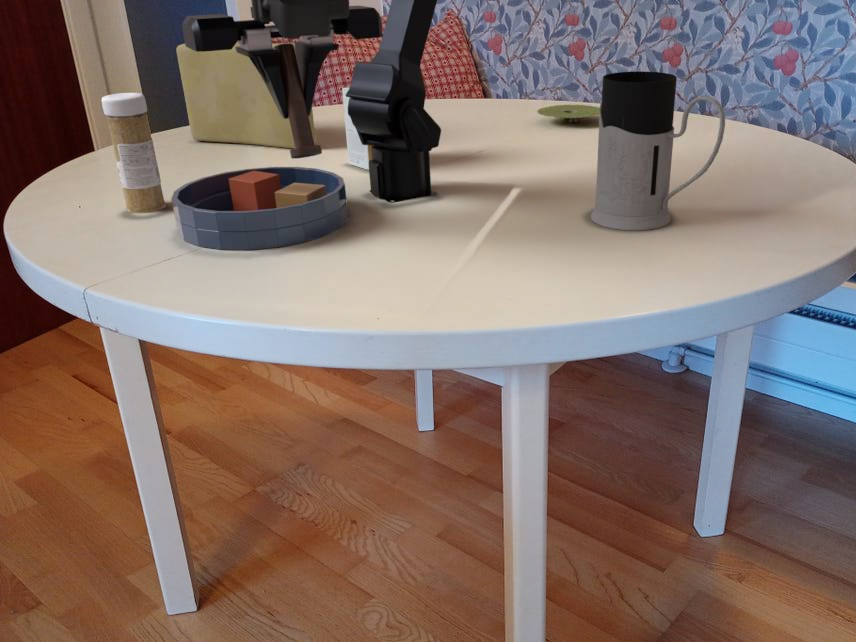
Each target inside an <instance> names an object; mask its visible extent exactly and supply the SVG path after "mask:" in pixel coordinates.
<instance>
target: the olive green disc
mask: <svg viewBox="0 0 856 642" xmlns="http://www.w3.org/2000/svg"><path fill="white" fill-rule="evenodd" d="M536 112H537V114H539V115H541V116H543V117H545V116H546V117H551V118H552V117H553V118H564V121H565V122H569V123H571V124H572V123H573V122H574V123H577V121H578V118H590V117H597V116H600V106H599V107H598V106H592V105H586V104H559V105H558V104H557V105H550V106H545V107H541V108H538V109H537V111H536Z"/></svg>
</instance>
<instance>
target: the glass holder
mask: <svg viewBox="0 0 856 642" xmlns="http://www.w3.org/2000/svg"><path fill="white" fill-rule="evenodd" d="M677 80H678V77H677V75H675V74H671V73H667V72H660V71H645V70H644V71H639V70H638V71H619V72H613V73H608V74H604V75H603V76H602V90H601V102H600V105H599V108H600V115H599V117H598V118H599V120H598V141H597V161H596V162H597V163H596V164H597V165H596V186H595V205H594V208H593V211H592V213H591V215H590V218H591V221H592V222H594V223H595V224H597V225H598V226H601V227H604V228H608V229H612V230H613V229H614V230H620V231H648V230H655V229H658V228H662V227H665V226H667V225H669V224H670V222H671V214H670V212H669V207H668V206H669V205H668V204H669V200H670V199H671V198H673V196H675V195H676V194H678V193H680V192H681V191H682V190H684V189H685V188H687V187H688V186H690V185H691V184H692V183H694V182H695V181H696V180H698V179H699V178H700V177H702V176H703V175H704V174H706V172H708V170H709V168H710V167H711V165H712V164H713V163H714V161H715V159H716V157H717V155H718V153H719V150H720V148H721V145H722V143H723V139H724V134H725V128H726V112H725V110H724V107H723V105H722V103H720V102H719V101H718V100H717V99H715V98H713V97H712V96H708V95H702V96H697V97H695V98H694V99H692V100H690V102H689V103H688V104H687V105H686V107H685V109H684V111H683V113H682V118H681V125H680V130H679V132H677V133H675V127H674V117H675V116H674V115H675V104H676V103H675V102H676V93H677V92H676V91H677ZM701 101H707V102H709V103H710V104H713V105H714V106H715V108H716V109H717V112H718V115H719V127H718V132H717V139H716V142H715V145H714V147H713V150H712V152H711V154H710V156H709V157H708V159H707V161H706V162H705V164H704V165H703V166H702V168H701V169H700V170H699V171H698V172H696V174H695V175H693V176H692V177H691V178H689V179H688V180H687V181H686V182H683V184H681V185H679V186H678V187H676V188H675V189H674V190H672V191H671V192H670V185H671V184H670V182H671V170H672V159H673V158H672V157H673V150H674V149H673V148H674V138H675V139H676V138H679V137H682V136H683V135H684V134H685V132H686V131H687V127H688V120H689V119H688V118H689V114H690V112H691V110H692V108H693V107H694V106H695V104H697V103H698V102H701Z"/></svg>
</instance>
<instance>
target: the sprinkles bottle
mask: <svg viewBox="0 0 856 642" xmlns="http://www.w3.org/2000/svg"><path fill="white" fill-rule="evenodd" d="M101 106H102V111H103V114H104V115H105V118H106V120H107V125H108V130H109V132H110V139H111V142H112V147H113V153H114V157H115V158H114V159H115V163H116V168H117V172H118V176H119V177H118V178H119V180H120V185H121V187H122V192H123V196H124V200H125V205H126V212H127V213H131V214H149V213H153V212H157V211H160V210H163V209H164V208H166V207H167V204H166V202H165V198H164V193H163V190H162V179H161V174H160V171H159V165H158V160H157V155H156V150H155V145H154V141H153V137H152V133H151V129H150V123H149V119H148V112H147V111H148V105H147V101H146V98H145V95H144V94H143V93H140V92H119V93H113V94H108V95H104V96H102V97H101Z"/></svg>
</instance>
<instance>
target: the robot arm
mask: <svg viewBox="0 0 856 642" xmlns="http://www.w3.org/2000/svg"><path fill="white" fill-rule="evenodd" d="M250 1H251V6H250V7H249V8H250V15H251V18H252V19H245V20H244V19H243V20H234V17H233V16H232V15H227V14H224V13H215V14H200V15H199V14H197V15H187V16H185V19H184V20H183V21H182V35H183V39H184V44H185V46H186V47H188V48H190V49H192V50H194V51H196V52H206V51H218V50H231V49H232V48H233V47H234V45H235V44H236V43H239V46H237V47H236V52H237V53H240V54H242V55H245V56H247V57H249V58H250V60H251V61H252V63H253V64H254V66H255V67H256V69H257V70H258V72H259V74H260V75H261V77H262V79H263V80H264V82H265V84H266V86H267V88H268V90H269V92H270V94H271V96H272V98H273V100H274V102H275V104H276V106H277V108H278V110H279V112H280V114H281V116H282V117H283V118H284V119H287V118H288V110H287V100H286V95H285V90H284V86H283V81H282V76H281V71H280V66H279V53H280V51H279V50H278V49H275V48H272V44H273V42H272V39H279V38H285V39H288V40H296V39H297V40H298V39H300V41H294V43H295V52H296V59H297V64H298V69H299V73H300V78H301V83H302V88H303V93H304V97H305V102H306V107H307V112H308V116H309V115H310V112H311V107H312V108H313V102H314V98H315V93H316V90H317V89H316V88H317V83H318V79H319V76H320V72H321V70H322V68H323V65H324V62H325V60H326V59H327V57H328V56H329V54H330V53H331V52H332V51H338V50H339V47H340V44H339V43H336V42H335V41H334V38H335V35H336V36H338V35H339V36H340V35H341V36H342V35H349V36H350V37H352V39H354V40H367V39H378V38H379V39H380V38H381V40H380V44H379V47H378V50H377V53H376V54H375V55H374V56H373V57H372V59H371V60H370V61H368V62H367V61H357V62H356V63H355V64H354V67H353V69H352V77H351V83H350V86H349V87H350V88H349V90H348V92H347V93H346V97H350V98H349V103H348V115H349V116H350V117H351V120H352V123H353V125H354V126H355V128H356V130H357V133H358V135H359V138H360V141H361V143H362V145H371V146H372V147H371V153H372V160H370V161H369V170H368V171H369V173H368V174H369V183H370V184H369V185H370V190H369V192H370V193H371V194H372V195H373V196H375V197H376V198H378V199H380V200H384V201H386V202H388V203H391V204H392V203H399V202H404V201H409V200H410V201H411V200H415V199H420V198H426V197H431V196H436V195H438V194H439V193H438V192H437V191H435V190H432V179H431V178H432V177H431V162H430V161H431V160H430V159H431V158H430V152H432V150H433V149H435V148H438V147H439V145H440V140H441V134H442V128H441V126H440V125H439V124H438V123H437V122H436V121H435V120H434V119H433V117H432V116H431V115H430V114H429V113H428V112H427V110H426V109H425V103H426V95H427V89H426V86H425V81H424V77H423V73H422V68H421V63H422V59H423V55H424V52H425V48H426V44H427V40H428V36H429V34H430V29H431V25H432V21H433V19H434V14H435V10H436V7H437V3H438V0H391V1H390V4H389V5H390V6H389V8H388V12H387V17H386V20H385V25H384V29H383V20H382V17H381V14H380V13H379V11H378V10H377V8H375V7H372V6H365V5H350V0H250ZM270 23H273V24H270Z"/></svg>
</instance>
